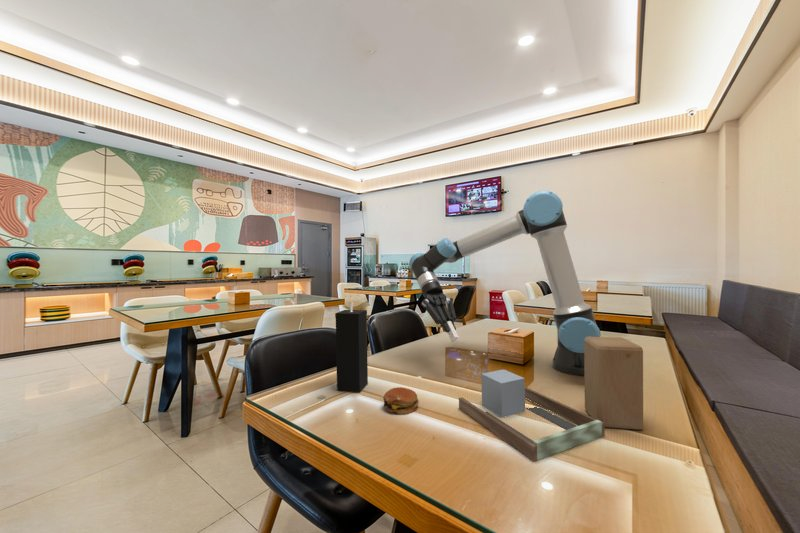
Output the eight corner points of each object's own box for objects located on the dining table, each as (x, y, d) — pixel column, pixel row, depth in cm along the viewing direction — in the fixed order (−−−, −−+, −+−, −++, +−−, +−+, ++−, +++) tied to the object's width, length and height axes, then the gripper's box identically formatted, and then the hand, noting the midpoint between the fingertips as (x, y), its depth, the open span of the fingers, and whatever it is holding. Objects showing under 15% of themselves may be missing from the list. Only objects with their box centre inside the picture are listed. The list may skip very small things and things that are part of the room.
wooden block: (645, 431, 75) (645, 346, 75) (598, 428, 77) (597, 345, 77) (624, 412, 85) (624, 336, 85) (583, 409, 87) (582, 335, 87)
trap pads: (527, 401, 92) (527, 401, 92) (578, 427, 78) (578, 426, 78) (476, 415, 85) (476, 414, 85) (522, 446, 70) (522, 445, 70)
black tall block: (336, 391, 102) (334, 302, 102) (346, 381, 110) (344, 299, 109) (359, 393, 100) (358, 303, 100) (368, 383, 108) (366, 300, 108)
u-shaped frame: (519, 394, 98) (519, 382, 98) (604, 435, 74) (604, 420, 74) (458, 408, 89) (458, 396, 89) (533, 461, 65) (533, 444, 65)
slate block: (504, 400, 94) (503, 369, 94) (525, 411, 87) (524, 378, 86) (481, 405, 91) (481, 373, 90) (501, 417, 83) (501, 383, 83)
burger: (412, 398, 96) (412, 382, 96) (422, 412, 87) (422, 395, 87) (380, 402, 94) (379, 386, 94) (387, 417, 85) (386, 400, 85)
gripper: (441, 292, 129) (466, 343, 114) (411, 293, 123) (434, 347, 108) (448, 279, 124) (475, 331, 109) (418, 280, 118) (442, 335, 104)
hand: (455, 339), depth 109 cm, fingers closed
